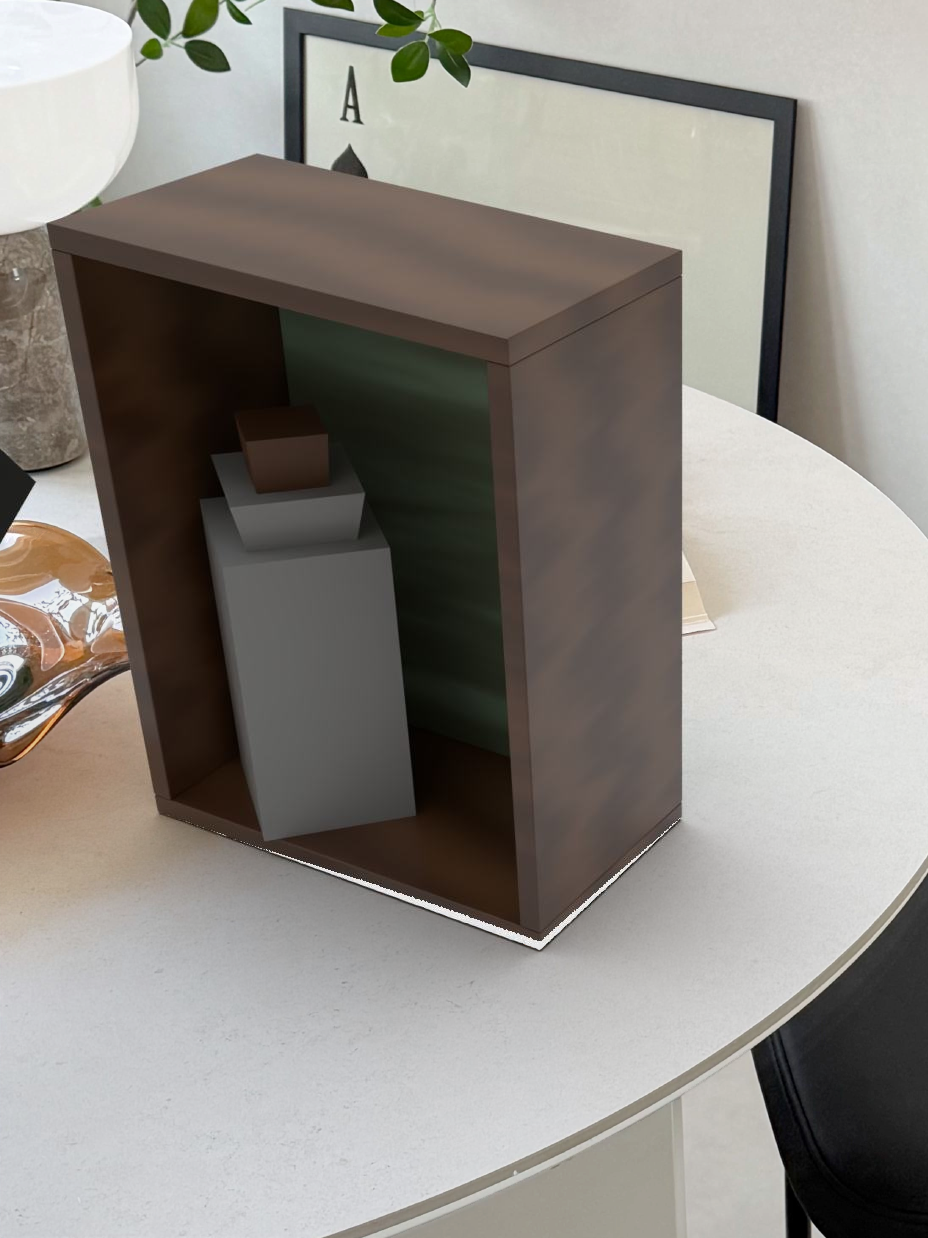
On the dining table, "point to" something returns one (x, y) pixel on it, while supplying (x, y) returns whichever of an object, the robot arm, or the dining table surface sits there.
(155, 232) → the cabinet
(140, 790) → the dining table surface
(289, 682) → the perfume bottle
